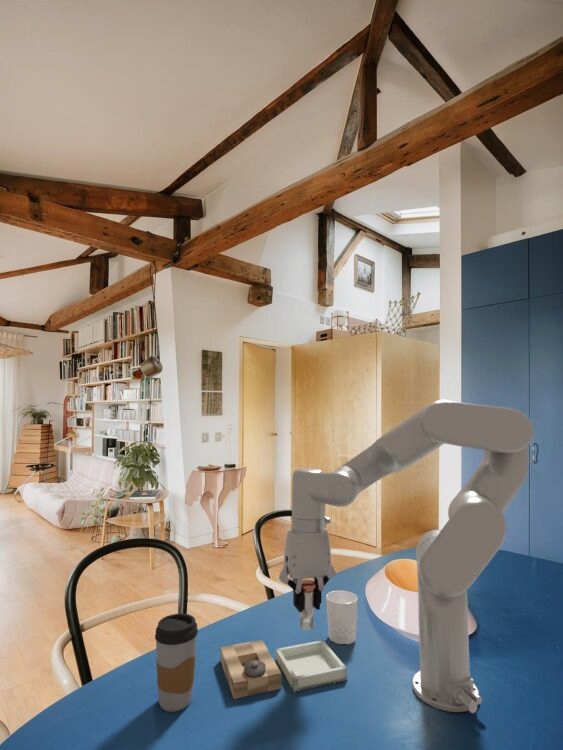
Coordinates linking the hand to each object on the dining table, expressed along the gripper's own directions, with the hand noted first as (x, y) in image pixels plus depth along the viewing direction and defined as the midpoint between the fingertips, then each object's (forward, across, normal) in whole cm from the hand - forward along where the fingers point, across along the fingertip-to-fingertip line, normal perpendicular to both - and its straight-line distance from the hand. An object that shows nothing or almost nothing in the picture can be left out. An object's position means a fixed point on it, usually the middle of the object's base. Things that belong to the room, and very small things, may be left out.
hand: (307, 607), depth 97 cm
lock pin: (+4, 0, 0) cm, 4 cm away
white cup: (+13, -14, -10) cm, 21 cm away
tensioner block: (+13, +12, -3) cm, 18 cm away
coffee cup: (+14, +28, +1) cm, 32 cm away
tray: (+13, -1, 0) cm, 13 cm away
